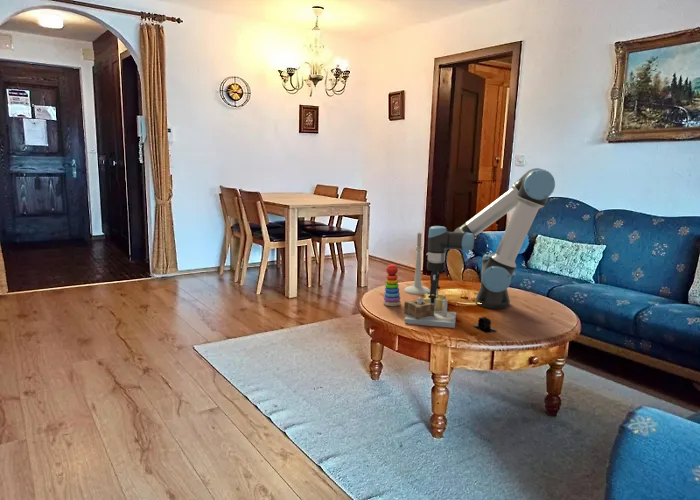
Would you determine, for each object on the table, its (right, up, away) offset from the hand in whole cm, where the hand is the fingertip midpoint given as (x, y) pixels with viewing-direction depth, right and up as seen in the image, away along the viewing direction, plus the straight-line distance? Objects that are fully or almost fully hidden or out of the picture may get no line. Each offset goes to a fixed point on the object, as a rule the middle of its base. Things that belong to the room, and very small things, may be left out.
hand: (433, 307), depth 225 cm
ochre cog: (0, 0, 0) cm, 0 cm away
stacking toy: (-18, +1, +4) cm, 19 cm away
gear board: (-4, -3, -16) cm, 17 cm away
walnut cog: (-9, -1, -15) cm, 18 cm away
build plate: (+16, -6, -25) cm, 30 cm away
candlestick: (-4, +5, +26) cm, 27 cm away
